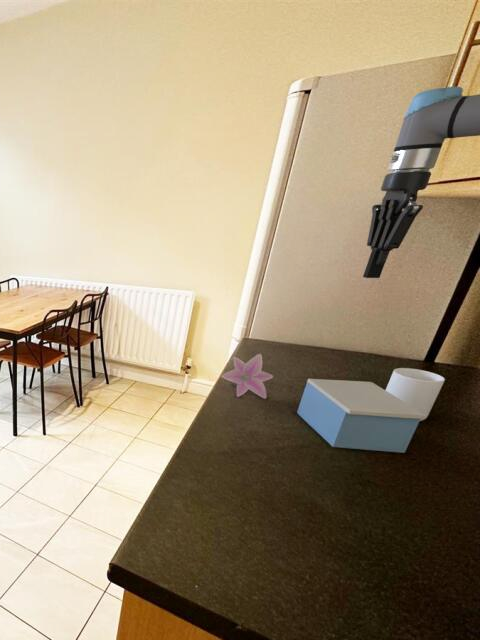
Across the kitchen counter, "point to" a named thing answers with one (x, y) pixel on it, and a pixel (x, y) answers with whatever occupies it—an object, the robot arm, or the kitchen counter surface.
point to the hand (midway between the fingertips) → (371, 277)
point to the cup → (415, 388)
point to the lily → (248, 376)
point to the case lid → (365, 399)
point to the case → (354, 425)
